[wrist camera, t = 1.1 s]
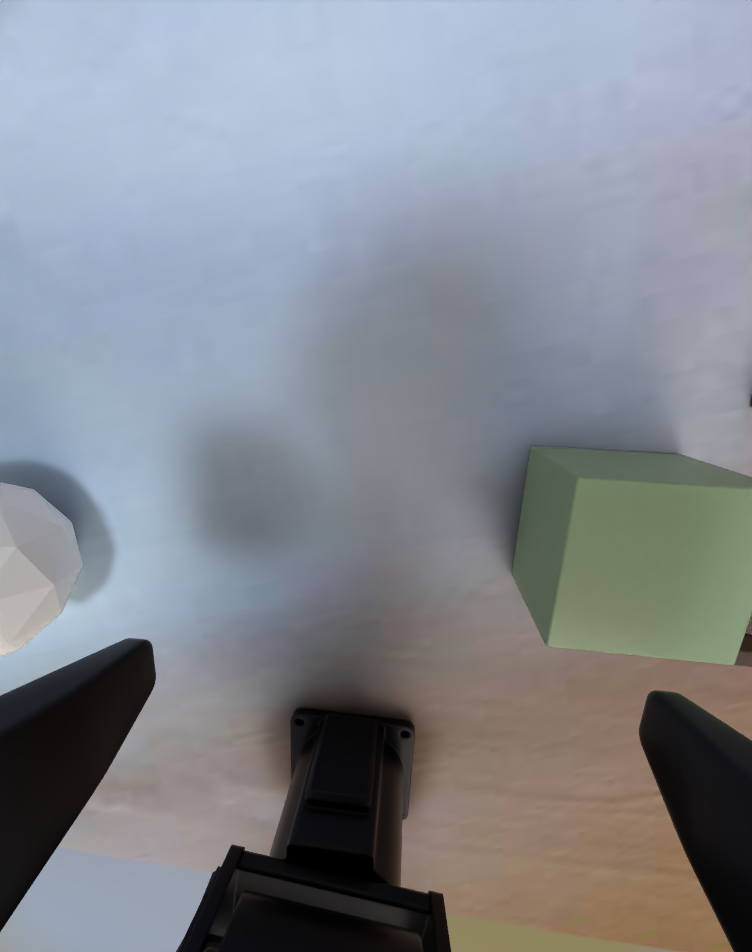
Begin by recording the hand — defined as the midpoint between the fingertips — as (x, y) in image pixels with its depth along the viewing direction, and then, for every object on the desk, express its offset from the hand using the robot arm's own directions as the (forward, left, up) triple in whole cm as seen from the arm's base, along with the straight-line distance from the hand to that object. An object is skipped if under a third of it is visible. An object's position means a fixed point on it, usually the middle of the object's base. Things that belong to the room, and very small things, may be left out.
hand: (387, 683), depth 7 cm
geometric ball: (-3, +18, -11) cm, 21 cm away
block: (0, -8, -11) cm, 14 cm away
